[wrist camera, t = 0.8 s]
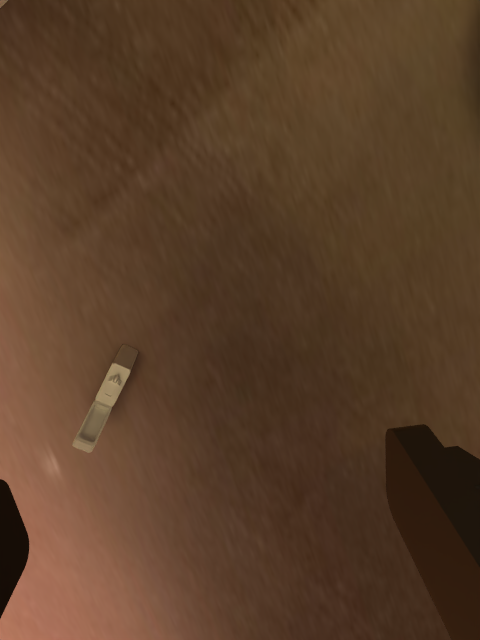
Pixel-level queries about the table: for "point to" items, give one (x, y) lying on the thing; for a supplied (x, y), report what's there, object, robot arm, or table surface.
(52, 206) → the table surface
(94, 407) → the lighter
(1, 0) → the white stand
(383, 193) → the table surface
